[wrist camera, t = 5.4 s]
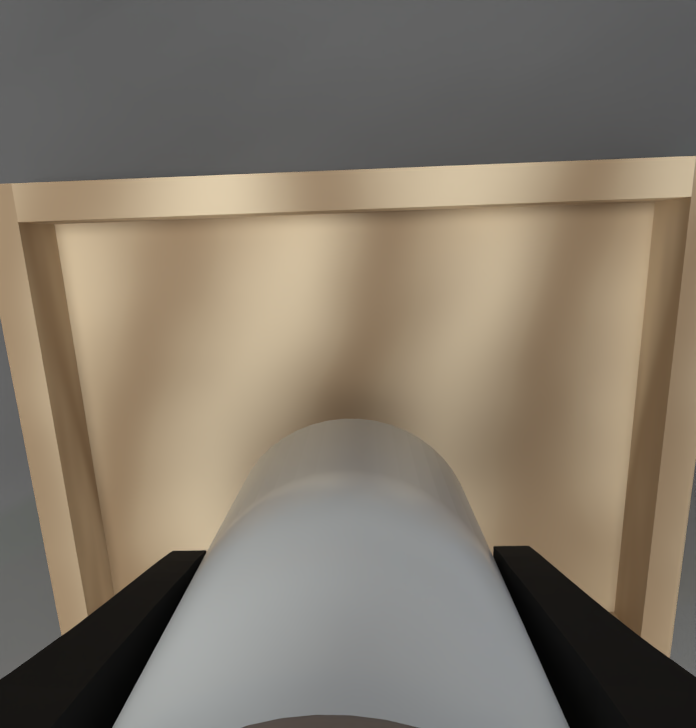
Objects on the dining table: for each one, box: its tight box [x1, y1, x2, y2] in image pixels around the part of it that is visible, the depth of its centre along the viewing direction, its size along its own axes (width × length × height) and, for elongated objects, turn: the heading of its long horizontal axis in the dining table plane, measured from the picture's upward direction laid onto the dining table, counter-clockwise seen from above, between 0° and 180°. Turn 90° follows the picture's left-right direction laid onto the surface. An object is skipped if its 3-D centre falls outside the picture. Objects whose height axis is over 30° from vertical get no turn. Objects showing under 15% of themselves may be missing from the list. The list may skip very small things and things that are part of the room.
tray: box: [0, 156, 696, 658], centre depth 16 cm, size 20×16×2 cm
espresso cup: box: [112, 419, 569, 728], centre depth 8 cm, size 5×6×7 cm
